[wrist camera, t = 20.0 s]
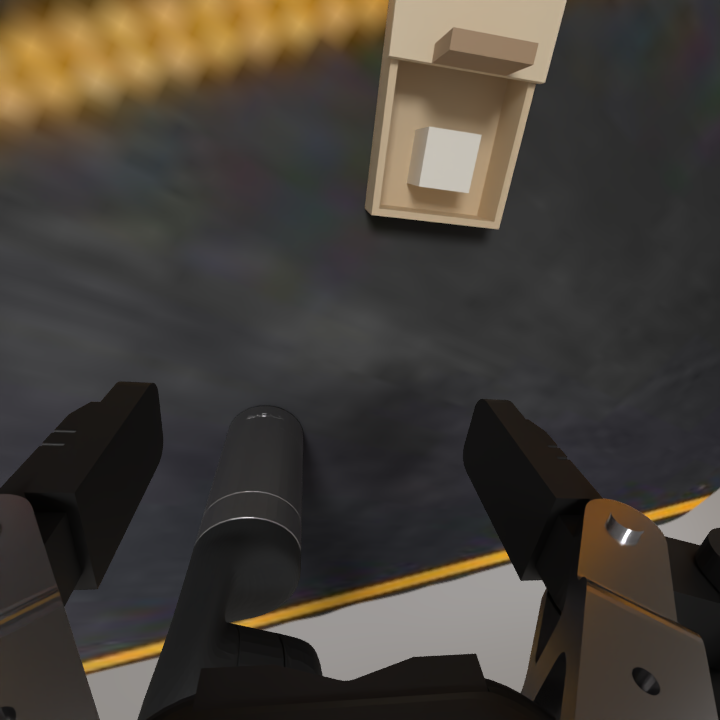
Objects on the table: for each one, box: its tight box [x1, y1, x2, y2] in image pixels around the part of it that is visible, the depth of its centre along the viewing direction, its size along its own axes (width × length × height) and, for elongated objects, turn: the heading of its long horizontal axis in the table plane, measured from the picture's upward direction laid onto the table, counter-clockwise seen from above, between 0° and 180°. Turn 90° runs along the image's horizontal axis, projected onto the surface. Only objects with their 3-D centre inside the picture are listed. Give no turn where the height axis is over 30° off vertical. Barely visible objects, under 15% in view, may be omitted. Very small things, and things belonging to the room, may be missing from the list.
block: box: [407, 127, 482, 193], centre depth 37 cm, size 4×4×5 cm
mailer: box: [365, 0, 536, 229], centre depth 36 cm, size 18×12×5 cm, turn 173°
